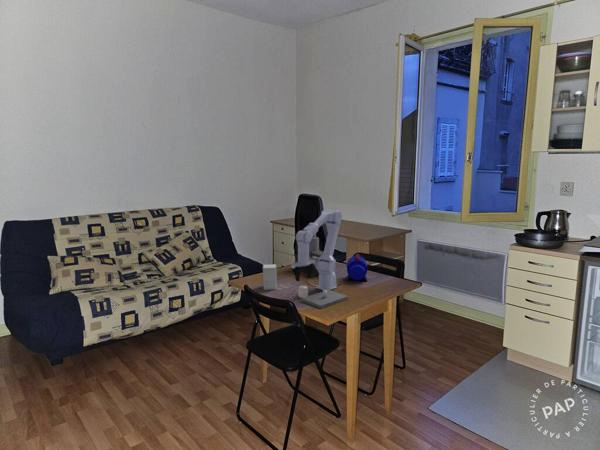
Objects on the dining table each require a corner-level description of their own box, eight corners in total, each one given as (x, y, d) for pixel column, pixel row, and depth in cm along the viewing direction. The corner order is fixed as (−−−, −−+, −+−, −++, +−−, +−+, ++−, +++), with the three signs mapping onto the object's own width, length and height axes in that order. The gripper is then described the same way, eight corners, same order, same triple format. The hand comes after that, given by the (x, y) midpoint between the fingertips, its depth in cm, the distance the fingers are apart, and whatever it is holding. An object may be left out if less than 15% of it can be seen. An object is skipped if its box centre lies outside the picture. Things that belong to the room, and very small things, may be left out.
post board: (328, 292, 226) (328, 283, 225) (348, 298, 215) (348, 289, 215) (301, 301, 212) (301, 291, 211) (320, 308, 202) (320, 298, 201)
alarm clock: (366, 276, 255) (367, 252, 252) (367, 282, 243) (368, 257, 240) (346, 276, 256) (346, 252, 253) (346, 282, 244) (347, 257, 241)
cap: (303, 293, 223) (303, 284, 222) (309, 296, 220) (309, 287, 219) (296, 295, 220) (296, 286, 219) (303, 298, 216) (303, 289, 216)
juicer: (290, 267, 277) (290, 230, 273) (310, 263, 286) (310, 228, 281) (317, 278, 252) (317, 238, 248) (338, 273, 261) (338, 235, 257)
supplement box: (276, 285, 238) (276, 264, 235) (276, 289, 230) (276, 267, 228) (263, 285, 237) (263, 264, 235) (263, 289, 230) (262, 267, 228)
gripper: (297, 257, 207) (297, 283, 209) (319, 253, 216) (318, 278, 218) (288, 254, 212) (288, 280, 215) (310, 251, 221) (310, 275, 224)
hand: (303, 279), depth 217 cm, fingers open, 7 cm apart
